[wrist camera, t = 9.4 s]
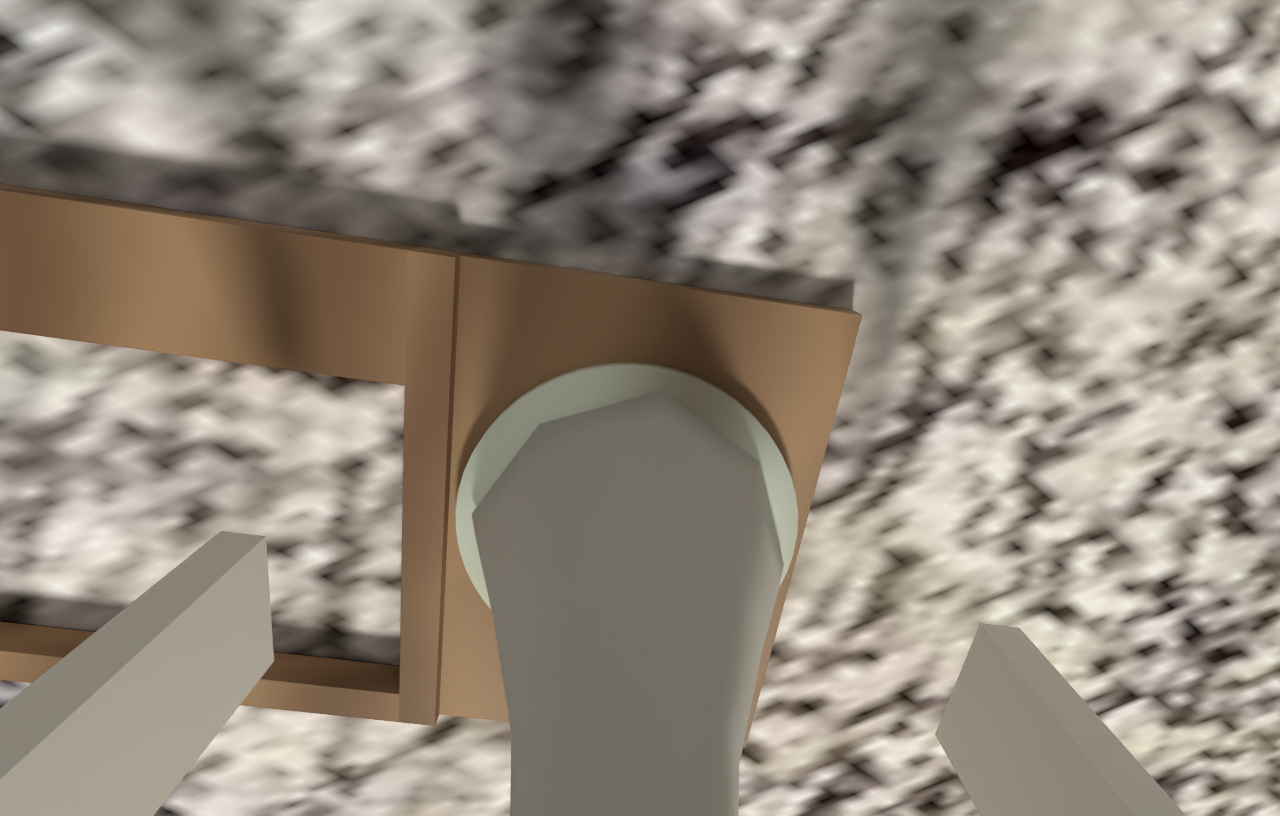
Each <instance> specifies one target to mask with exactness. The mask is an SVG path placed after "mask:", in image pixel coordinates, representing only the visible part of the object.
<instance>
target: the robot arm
mask: <svg viewBox="0 0 1280 816" xmlns="http://www.w3.org/2000/svg"><path fill="white" fill-rule="evenodd" d="M273 662H274V652H273V637H272V622H271V607H270V593H269V578H268V563H267V549H266V536H258V535H249V534H241V533H233V532H225V531H220V532H219V533H218V534H217V535H216V536H214V537H213V538H212V539H211V540H209V541H208V542H207V543H206V544H204V545H203V546H202V547H201V548H199V549H198V550H197V551H196V552H194V553H193V554H192V555H191V556H189V557H188V558H187V559H186V560H184V561H183V562H182V563H181V564H179V565H178V566H177V567H176V568H174V569H173V570H172V571H171V572H169V573H168V574H167V575H166V576H165V577H163V578H162V579H161V580H160V581H158V582H157V583H156V584H155V585H153V586H152V587H151V588H150V589H148V590H147V591H146V592H145V593H143V594H142V595H141V596H140V597H138V598H137V599H136V600H135V601H133V602H132V603H131V604H130V605H128V606H127V607H126V608H125V609H123V610H122V611H121V612H120V613H119V614H117V615H116V616H115V617H114V618H112V619H111V620H110V621H109V622H107V623H106V624H105V625H104V626H102V627H101V628H100V629H99V630H97V631H96V632H95V633H94V634H92V635H91V636H90V637H89V638H87V639H86V640H85V641H84V642H82V643H81V644H80V645H79V646H77V647H76V648H75V649H74V650H73V651H71V652H70V653H69V654H68V655H66V656H65V657H64V658H63V659H61V660H60V661H59V662H58V663H56V664H55V665H54V666H53V667H51V668H50V669H49V670H48V671H46V672H45V673H44V674H43V675H41V676H40V677H39V678H38V679H36V680H35V681H34V682H33V683H31V684H30V685H29V686H28V687H26V688H25V689H24V690H23V691H22V692H20V693H19V694H18V695H17V696H15V697H14V698H13V699H12V700H10V701H9V702H8V703H7V704H5V705H4V706H3V707H2V708H0V816H153V815H154V814H155V813H156V812H157V810H158V809H159V808H160V807H161V805H162V804H163V803H164V801H165V800H166V799H167V798H168V796H169V795H170V794H171V792H172V791H173V790H174V789H175V787H176V786H177V785H178V783H179V782H180V781H181V780H182V778H183V777H184V776H185V774H186V773H187V772H188V771H189V769H190V768H191V767H192V766H193V764H194V763H195V762H196V760H197V759H198V758H199V757H200V755H201V754H202V753H203V751H204V750H205V749H206V748H207V746H208V745H209V744H210V742H211V741H212V740H213V739H214V737H215V736H216V735H217V734H218V732H219V731H220V730H221V728H222V727H223V726H224V725H225V723H226V722H227V721H228V719H229V718H230V717H231V716H232V714H233V713H234V712H235V710H236V709H237V708H238V707H239V705H240V704H241V703H242V702H243V700H244V699H245V698H246V696H247V695H248V694H249V693H250V691H251V690H252V689H253V687H254V686H255V685H256V684H257V682H258V681H259V680H260V678H261V677H262V676H263V675H264V673H265V672H266V671H267V669H268V668H269V667H270V666H271V664H272V663H273ZM936 736H937V738H938V740H939V742H940V743H941V745H942V747H943V749H944V751H945V752H946V754H947V756H948V758H949V760H950V761H951V763H952V765H953V767H954V769H955V770H956V772H957V774H958V776H959V778H960V779H961V781H962V783H963V785H964V787H965V788H966V790H967V792H968V794H969V796H970V797H971V799H972V801H973V803H974V805H975V806H976V808H977V810H978V812H979V814H980V815H981V816H1186V815H1185V814H1184V813H1183V812H1182V811H1181V810H1180V808H1179V807H1178V806H1177V805H1176V804H1175V803H1174V802H1173V801H1172V799H1171V798H1170V797H1169V796H1168V795H1167V794H1166V793H1165V792H1164V790H1163V789H1162V788H1161V787H1160V786H1159V785H1158V784H1157V782H1156V781H1155V780H1154V779H1153V778H1152V777H1151V776H1150V775H1149V773H1148V772H1147V771H1146V770H1145V769H1144V768H1143V767H1142V766H1141V764H1140V763H1139V762H1138V761H1137V760H1136V759H1135V758H1134V757H1133V755H1132V754H1131V753H1130V752H1129V751H1128V750H1127V749H1126V748H1125V746H1124V745H1123V744H1122V743H1121V742H1120V741H1119V740H1118V739H1117V737H1116V736H1115V735H1114V734H1113V733H1112V732H1111V731H1110V730H1109V728H1108V727H1107V726H1106V725H1105V724H1104V723H1103V722H1102V721H1101V719H1100V718H1099V717H1098V716H1097V715H1096V714H1095V713H1094V712H1093V710H1092V709H1091V708H1090V707H1089V706H1088V705H1087V704H1086V703H1085V701H1084V700H1083V699H1082V698H1081V697H1080V696H1079V695H1078V694H1077V692H1076V691H1075V690H1074V689H1073V688H1072V687H1071V686H1070V684H1069V683H1068V682H1067V681H1066V680H1065V679H1064V678H1063V677H1062V675H1061V674H1060V673H1059V672H1058V671H1057V670H1056V669H1055V668H1054V666H1053V665H1052V664H1051V663H1050V662H1049V661H1048V660H1047V659H1046V657H1045V656H1044V655H1043V654H1042V653H1041V652H1040V651H1039V650H1038V648H1037V647H1036V646H1035V645H1034V644H1033V643H1032V642H1031V641H1030V639H1029V638H1028V637H1027V636H1026V635H1025V634H1024V633H1023V632H1022V630H1021V629H1020V628H1015V627H1007V626H999V625H991V624H983V623H980V625H979V628H978V630H977V633H976V635H975V638H974V640H973V643H972V645H971V647H970V650H969V652H968V655H967V657H966V660H965V662H964V665H963V667H962V670H961V672H960V675H959V677H958V680H957V682H956V684H955V687H954V689H953V692H952V694H951V697H950V699H949V702H948V704H947V707H946V709H945V712H944V714H943V716H942V719H941V721H940V724H939V726H938V729H937V731H936Z"/></svg>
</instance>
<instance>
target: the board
mask: <svg viewBox="0 0 1280 816" xmlns="http://www.w3.org/2000/svg"><path fill="white" fill-rule="evenodd" d="M861 318H862V315H861V314H859V313H857V312H855V311H853V310H846V309H840V308H833V307H826V306H819V305H813V304H806V303H799V302H793V301H786V300H779V299H772V298H766V297H759V296H752V295H745V294H739V293H732V292H725V291H719V290H712V289H705V288H698V287H692V286H685V285H678V284H671V283H665V282H658V281H651V280H644V279H638V278H631V277H624V276H618V275H611V274H604V273H597V272H591V271H584V270H577V269H570V268H564V267H557V266H550V265H544V264H537V263H530V262H523V261H517V260H510V259H503V258H496V257H490V256H483V255H476V254H470V253H463V252H456V251H449V250H443V249H436V248H429V247H422V246H416V245H409V244H402V243H395V242H389V241H382V240H375V239H369V238H362V237H355V236H348V235H342V234H335V233H328V232H321V231H315V230H308V229H301V228H295V227H288V226H281V225H274V224H268V223H261V222H254V221H247V220H241V219H234V218H227V217H220V216H214V215H207V214H200V213H194V212H187V211H180V210H173V209H167V208H160V207H153V206H146V205H140V204H133V203H126V202H120V201H113V200H106V199H99V198H93V197H86V196H79V195H72V194H66V193H59V192H52V191H45V190H39V189H32V188H25V187H19V186H12V185H5V184H0V330H1V331H9V332H16V333H23V334H31V335H38V336H45V337H53V338H60V339H68V340H75V341H82V342H90V343H97V344H104V345H112V346H119V347H126V348H134V349H141V350H148V351H156V352H163V353H170V354H178V355H185V356H192V357H200V358H207V359H214V360H222V361H229V362H236V363H244V364H251V365H258V366H266V367H273V368H281V369H288V370H295V371H303V372H310V373H317V374H325V375H332V376H339V377H347V378H354V379H361V380H369V381H376V382H383V383H391V384H398V385H405V413H404V468H403V522H402V577H401V632H400V666H394V665H385V664H376V663H367V662H358V661H349V660H340V659H331V658H322V657H313V656H304V655H295V654H286V653H277V652H274V662H273V663H272V664H271V666H270V667H269V668H268V669H267V671H266V672H265V673H264V675H263V676H262V677H261V678H260V680H259V681H258V682H257V684H256V685H255V686H254V687H253V689H252V690H251V691H250V693H249V694H248V695H247V696H246V698H245V699H244V700H243V702H242V703H241V704H240V705H244V706H253V707H262V708H272V709H281V710H291V711H300V712H309V713H319V714H328V715H338V716H347V717H356V718H366V719H375V720H384V721H394V722H403V723H413V724H422V725H431V726H435V724H436V721H437V719H438V716H439V714H441V715H450V716H459V717H469V718H478V719H487V720H497V721H506V722H510V721H509V715H508V708H507V702H506V696H505V690H504V684H503V678H502V672H501V665H500V659H499V653H498V647H497V641H496V635H495V629H494V622H493V616H492V610H491V606H490V601H489V597H488V592H487V588H486V583H485V579H484V574H483V570H482V565H481V561H480V556H479V551H478V547H477V542H476V538H475V532H474V526H473V520H472V513H473V511H474V510H475V509H476V507H477V506H478V505H479V503H480V502H481V501H482V499H483V498H484V497H485V495H486V494H487V493H488V491H489V490H490V489H491V487H492V486H493V485H494V483H495V482H496V481H497V479H498V478H499V477H500V475H501V474H502V473H503V471H504V470H505V469H506V467H507V466H508V465H509V463H510V462H511V461H512V459H513V458H514V457H515V455H516V454H517V453H518V451H519V450H520V449H521V447H522V446H523V445H524V443H525V442H526V441H527V439H528V438H529V437H530V435H531V434H532V433H533V431H534V430H535V429H536V427H537V426H538V425H539V424H541V423H545V422H548V421H552V420H556V419H559V418H563V417H567V416H570V415H574V414H578V413H581V412H585V411H589V410H592V409H596V408H600V407H603V406H607V405H611V404H614V403H618V402H622V401H625V400H629V399H633V398H636V397H640V396H644V395H647V394H651V393H655V392H658V391H663V392H664V393H666V394H667V395H668V396H670V397H671V398H673V399H674V400H675V401H677V402H678V403H679V404H681V405H682V406H684V407H685V408H686V409H688V410H689V411H690V412H692V413H693V414H694V415H696V416H697V417H699V418H700V419H701V420H703V421H704V422H705V423H707V424H708V425H710V426H711V427H712V428H714V429H715V430H716V431H718V432H719V433H721V434H722V435H723V436H725V437H726V438H727V439H729V440H730V441H732V442H733V443H734V444H736V445H737V446H738V447H740V448H741V449H743V450H744V451H745V452H747V453H748V454H749V455H751V456H752V457H753V458H755V459H756V460H758V461H759V462H760V466H761V470H762V474H763V479H764V483H765V487H766V491H767V495H768V499H769V504H770V508H771V512H772V516H773V520H774V524H775V529H776V533H777V537H778V541H779V545H780V550H781V554H782V558H783V562H784V566H783V571H782V576H781V581H780V586H779V590H778V593H777V597H776V601H775V605H774V608H773V612H772V616H771V620H770V624H769V627H768V631H767V635H766V639H765V642H764V646H763V650H762V654H761V659H760V664H759V669H758V674H757V679H756V684H755V689H754V694H753V699H752V704H751V709H750V714H749V719H748V724H747V729H746V734H745V739H744V744H743V747H745V746H746V742H747V739H748V735H749V731H750V728H751V724H752V720H753V716H754V713H755V709H756V705H757V702H758V698H759V694H760V691H761V687H762V683H763V680H764V676H765V672H766V669H767V665H768V661H769V657H770V654H771V650H772V646H773V643H774V639H775V635H776V632H777V628H778V624H779V621H780V617H781V613H782V610H783V606H784V602H785V598H786V595H787V591H788V587H789V584H790V580H791V576H792V573H793V569H794V565H795V562H796V558H797V554H798V550H799V547H800V543H801V539H802V536H803V532H804V528H805V525H806V521H807V517H808V514H809V510H810V506H811V503H812V499H813V495H814V491H815V488H816V484H817V480H818V477H819V473H820V469H821V466H822V462H823V458H824V455H825V451H826V447H827V444H828V440H829V436H830V432H831V429H832V425H833V421H834V418H835V414H836V410H837V407H838V403H839V399H840V396H841V392H842V388H843V384H844V381H845V377H846V373H847V370H848V366H849V362H850V359H851V355H852V351H853V348H854V344H855V340H856V337H857V333H858V329H859V325H860V322H861ZM94 633H95V632H89V631H80V630H71V629H62V628H53V627H44V626H35V625H26V624H17V623H8V622H0V680H9V681H18V682H28V683H33V682H34V681H35V680H36V679H38V678H39V677H40V676H41V675H43V674H44V673H45V672H46V671H48V670H49V669H50V668H51V667H53V666H54V665H55V664H56V663H58V662H59V661H60V660H61V659H63V658H64V657H65V656H66V655H68V654H69V653H70V652H71V651H73V650H74V649H75V648H76V647H77V646H79V645H80V644H81V643H82V642H84V641H85V640H86V639H87V638H89V637H90V636H91V635H92V634H94Z"/></svg>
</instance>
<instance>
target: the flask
mask: <svg viewBox="0 0 1280 816" xmlns="http://www.w3.org/2000/svg"><path fill="white" fill-rule="evenodd" d="M472 520H473V526H474V532H475V538H476V542H477V547H478V551H479V556H480V561H481V565H482V570H483V574H484V579H485V583H486V588H487V592H488V597H489V601H490V606H491V610H492V616H493V622H494V629H495V635H496V641H497V647H498V653H499V659H500V665H501V672H502V678H503V684H504V690H505V696H506V702H507V708H508V715H509V721H510V727H511V733H512V740H511V804H510V816H738V803H739V763H740V758H741V753H742V748H743V744H744V739H745V734H746V729H747V724H748V719H749V714H750V709H751V704H752V699H753V694H754V689H755V684H756V679H757V674H758V669H759V664H760V659H761V654H762V650H763V646H764V642H765V639H766V635H767V631H768V627H769V624H770V620H771V616H772V612H773V608H774V605H775V601H776V597H777V593H778V590H779V586H780V581H781V576H782V571H783V566H784V562H783V558H782V554H781V550H780V545H779V541H778V537H777V533H776V529H775V524H774V520H773V516H772V512H771V508H770V504H769V499H768V495H767V491H766V487H765V483H764V479H763V474H762V470H761V466H760V462H759V461H758V460H756V459H755V458H753V457H752V456H751V455H749V454H748V453H747V452H745V451H744V450H743V449H741V448H740V447H738V446H737V445H736V444H734V443H733V442H732V441H730V440H729V439H727V438H726V437H725V436H723V435H722V434H721V433H719V432H718V431H716V430H715V429H714V428H712V427H711V426H710V425H708V424H707V423H705V422H704V421H703V420H701V419H700V418H699V417H697V416H696V415H694V414H693V413H692V412H690V411H689V410H688V409H686V408H685V407H684V406H682V405H681V404H679V403H678V402H677V401H675V400H674V399H673V398H671V397H670V396H668V395H667V394H666V393H664V392H663V391H658V392H655V393H651V394H647V395H644V396H640V397H636V398H633V399H629V400H625V401H622V402H618V403H614V404H611V405H607V406H603V407H600V408H596V409H592V410H589V411H585V412H581V413H578V414H574V415H570V416H567V417H563V418H559V419H556V420H552V421H548V422H545V423H541V424H539V425H538V426H537V427H536V429H535V430H534V431H533V433H532V434H531V435H530V437H529V438H528V439H527V441H526V442H525V443H524V445H523V446H522V447H521V449H520V450H519V451H518V453H517V454H516V455H515V457H514V458H513V459H512V461H511V462H510V463H509V465H508V466H507V467H506V469H505V470H504V471H503V473H502V474H501V475H500V477H499V478H498V479H497V481H496V482H495V483H494V485H493V486H492V487H491V489H490V490H489V491H488V493H487V494H486V495H485V497H484V498H483V499H482V501H481V502H480V503H479V505H478V506H477V507H476V509H475V510H474V511H473V513H472Z"/></svg>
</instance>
